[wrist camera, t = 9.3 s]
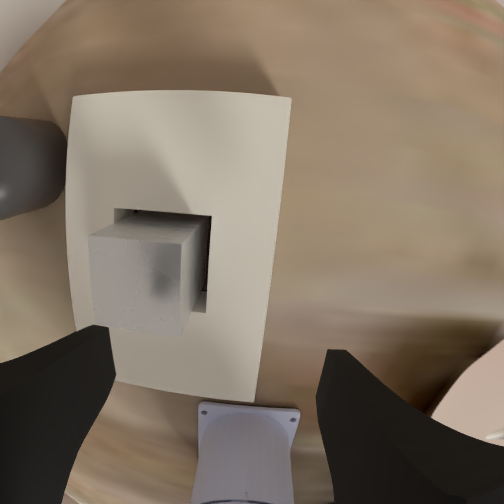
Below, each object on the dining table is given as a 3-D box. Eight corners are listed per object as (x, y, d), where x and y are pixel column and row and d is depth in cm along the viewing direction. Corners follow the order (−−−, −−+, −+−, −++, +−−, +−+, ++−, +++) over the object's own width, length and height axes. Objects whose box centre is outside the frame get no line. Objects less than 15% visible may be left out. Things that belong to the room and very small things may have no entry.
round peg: (69, 210, 19) (1, 233, 12) (8, 206, 19) (-56, 226, 12) (73, 116, 17) (5, 106, 10) (11, 125, 17) (-54, 123, 10)
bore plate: (254, 375, 22) (253, 402, 19) (100, 351, 22) (84, 372, 19) (286, 108, 17) (291, 97, 14) (96, 103, 17) (73, 96, 14)
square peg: (205, 281, 20) (180, 337, 13) (142, 274, 20) (95, 323, 13) (208, 215, 19) (181, 244, 12) (143, 210, 19) (87, 235, 12)
